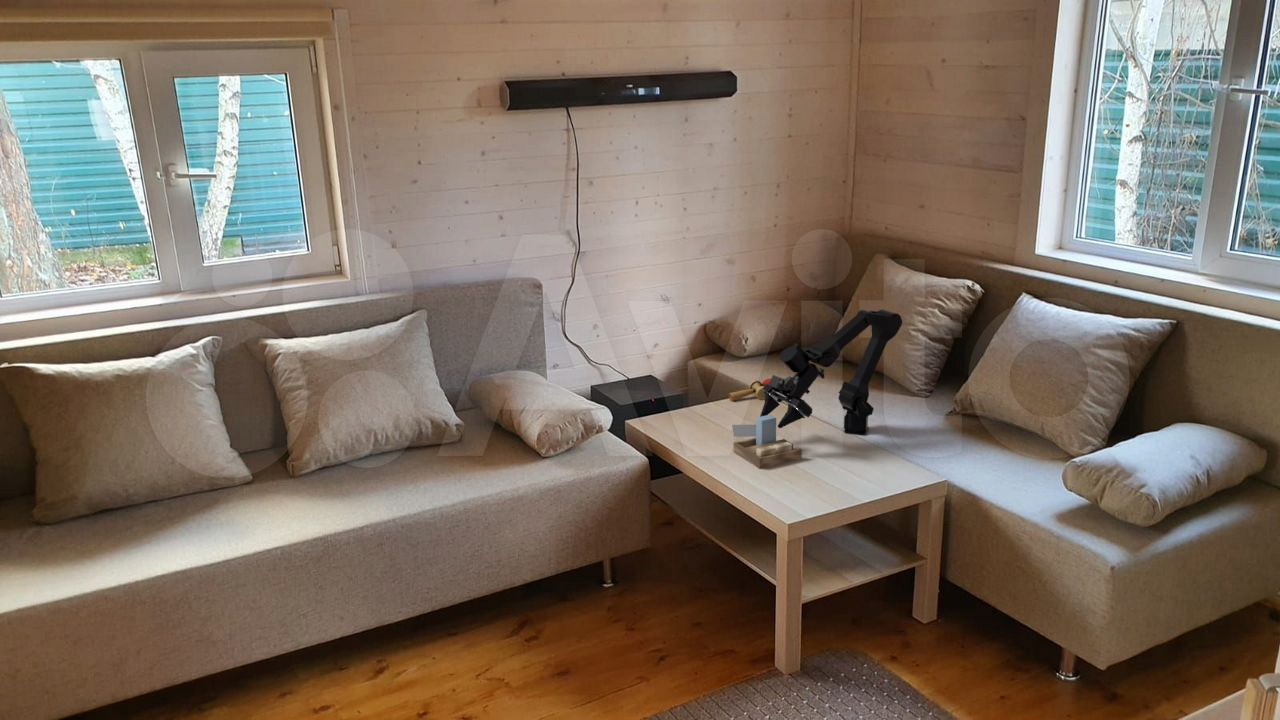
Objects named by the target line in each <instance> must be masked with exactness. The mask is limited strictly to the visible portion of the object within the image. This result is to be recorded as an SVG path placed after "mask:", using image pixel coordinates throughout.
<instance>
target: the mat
mask: <svg viewBox="0 0 1280 720" xmlns="http://www.w3.org/2000/svg"><path fill="white" fill-rule="evenodd" d="M731 428H732V433H733V437H734V438H735V437H737V438H740V437H741V438H743V437H745V438H746V437H753V438H755V437H756V424H732V425H731Z"/></svg>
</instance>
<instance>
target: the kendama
mask: <svg viewBox="0 0 1280 720" xmlns="http://www.w3.org/2000/svg"><path fill="white" fill-rule="evenodd" d="M770 381H771V378H766V379H764V380H763V381H762V382H761V381H759V380H757V379H755V380H752V381H750V383H749V387H748V388H749V389H742V390H739V391H734V392H733V391H732V392H729V393H728V399H729V401H730V402H734V401H736V400H739V399H743V398H746V397H748V396H750V395H752V394H753V395H754V394H755V397H756V398H757V399H758V400H760V401H761V400H765V394H764V390H763V387H764V386H765V385H766V384H769V383H770Z"/></svg>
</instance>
